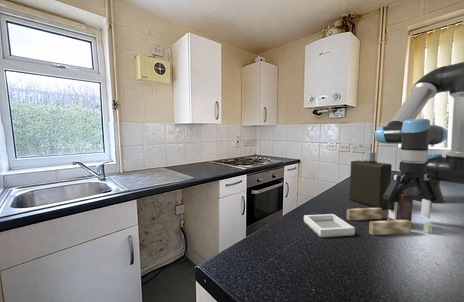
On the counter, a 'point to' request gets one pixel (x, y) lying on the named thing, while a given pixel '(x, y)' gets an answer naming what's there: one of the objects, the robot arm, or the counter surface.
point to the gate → (427, 228)
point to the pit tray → (329, 225)
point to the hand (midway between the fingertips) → (409, 217)
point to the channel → (379, 226)
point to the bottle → (369, 181)
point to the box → (404, 207)
